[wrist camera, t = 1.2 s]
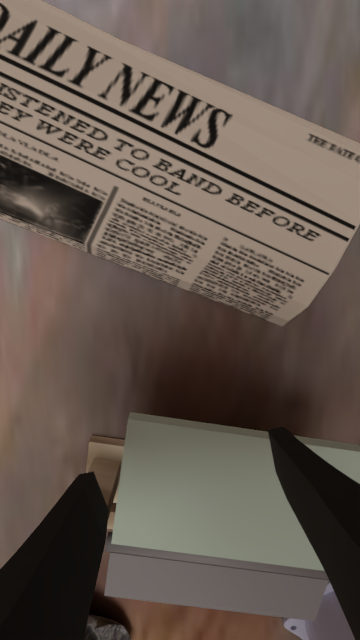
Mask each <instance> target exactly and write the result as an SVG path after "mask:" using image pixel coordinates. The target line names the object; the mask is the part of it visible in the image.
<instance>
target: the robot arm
mask: <svg viewBox="0 0 360 640" xmlns="http://www.w3.org/2000/svg"><path fill="white" fill-rule="evenodd" d="M268 434H269V439H270V445H271V450H272V455H273V461H274V466H275V471H276V474H277V476H278V479H279V481H280V484H281V486H282V489H283V491H284V494H285V496H286V498H287V500H288V502H289V504H290V506H291V508H292V510H293V512H294V514H295V515H296V517H297V519H298V521H299V523H300V525H301V527H302V529H303V530H304V532H305V534H306V536H307V538H308V540H309V542H310V544H311V545H312V547H313V549H314V551H315V553H316V555H317V557H318V559H319V560H320V562H321V564H322V566H323V568H324V570H325V572H326V575H327V577H328V583H327V586H326V589H325V592H324V595H323V598H322V601H321V604H320V608H319V611H318V614H317V617H316V620H315V621H308V620H300V619H292V618H283V620H282V621H283V625H284V627H285V628H286V629H288V630H289V631H291V632H292V633H294V634H295V635H297V636H298V637H300V638H301V639H303V640H360V484H359V483H357V482H356V481H354V480H353V479H351V478H350V477H348V476H347V475H345V474H344V473H342V472H341V471H339V470H338V469H336V468H335V467H334V466H332V465H331V464H329V463H328V462H327V461H325V460H324V459H323V458H321V457H320V456H319V455H317V454H316V453H315V452H313V451H312V450H311V449H309V448H308V447H307V446H306V445H305V444H303V443H302V442H301V441H300V440H298V439H297V438H296V437H295V436H294V435H293V434H291V433H290V432H289V431H288V430H287V429H286V428H284V427H280V428H276V429H271V430H268ZM108 514H109V510H108V507H107V505H106V502H105V499H104V497H103V494H102V492H101V489H100V487H99V484H98V482H97V479H96V476H95V474H94V471H93V472H88V473H84V474H80V475H78V477H77V478H76V479H75V480H74V481H73V483H72V484H71V485H70V486H69V488H68V489H67V490H66V492H65V493H64V494H63V495H62V497H61V498H60V499H59V501H58V502H57V503H56V504H55V506H54V507H53V508H52V509H51V511H50V512H49V513H48V514H47V516H46V517H45V518H44V520H43V521H42V522H41V523H40V525H39V526H38V527H37V528H36V529H35V530H34V532H33V533H32V534H31V535H30V536H29V537H28V539H27V540H26V541H25V542H24V543H23V545H22V546H21V547H20V548H19V549H18V550H17V552H16V553H15V554H14V555H13V556H12V557H11V558H10V559H9V561H8V562H7V563H6V564H5V565H4V566H3V567H2V568H1V569H0V640H84V638H85V631H86V626H87V621H88V616H89V611H90V607H91V602H92V598H93V594H94V589H95V585H96V580H97V576H98V572H99V567H100V563H101V558H102V554H103V549H104V545H105V540H106V532H107V524H108Z"/></svg>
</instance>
